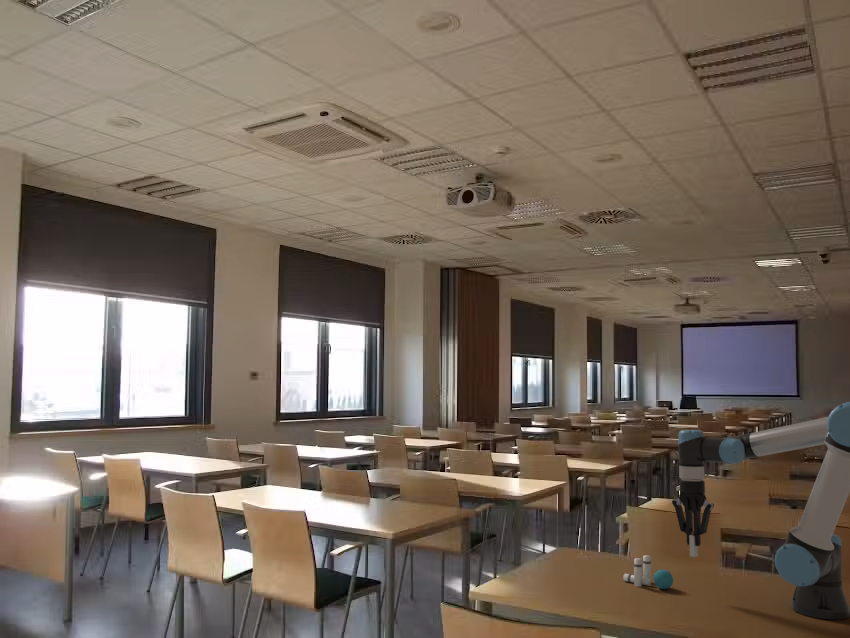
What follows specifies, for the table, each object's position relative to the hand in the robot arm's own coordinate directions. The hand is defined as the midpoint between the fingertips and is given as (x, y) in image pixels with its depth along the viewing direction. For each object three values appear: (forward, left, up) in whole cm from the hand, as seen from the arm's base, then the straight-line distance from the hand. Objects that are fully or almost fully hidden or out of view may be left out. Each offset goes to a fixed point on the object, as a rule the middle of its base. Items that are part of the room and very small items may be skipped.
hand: (694, 556), depth 237 cm
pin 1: (+15, +9, -12) cm, 22 cm away
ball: (+10, +4, -9) cm, 14 cm away
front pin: (+14, +5, -11) cm, 18 cm away
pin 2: (+18, +3, -12) cm, 22 cm away
